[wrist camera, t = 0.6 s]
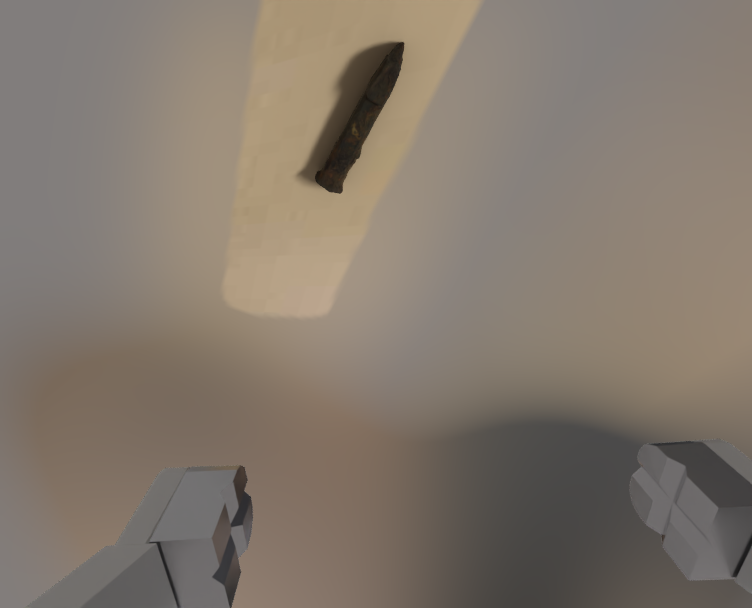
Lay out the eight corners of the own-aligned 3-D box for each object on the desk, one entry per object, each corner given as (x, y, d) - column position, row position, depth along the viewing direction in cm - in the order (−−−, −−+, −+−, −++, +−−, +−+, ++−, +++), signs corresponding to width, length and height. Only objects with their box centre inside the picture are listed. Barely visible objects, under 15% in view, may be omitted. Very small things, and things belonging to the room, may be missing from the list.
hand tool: (341, 186, 56) (337, 201, 53) (316, 171, 55) (311, 185, 51) (422, 57, 45) (424, 65, 42) (394, 34, 44) (393, 40, 40)
